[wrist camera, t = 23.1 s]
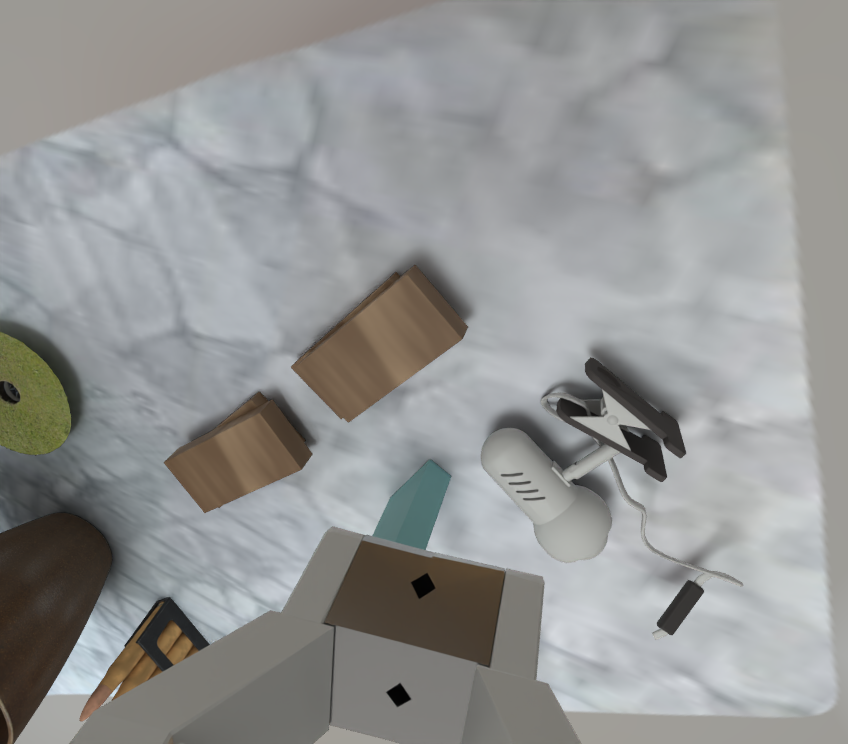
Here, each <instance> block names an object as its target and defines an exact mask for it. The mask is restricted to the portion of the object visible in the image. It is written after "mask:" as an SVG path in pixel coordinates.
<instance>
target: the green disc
mask: <svg viewBox="0 0 848 744" xmlns="http://www.w3.org/2000/svg"><path fill="white" fill-rule="evenodd" d="M68 404H69V403H68V402H67V397H66V394H65V392H64V389H63V387H62V385H61V383H60V380H59V379H58V378H57V377H56V375H55V374H54V373H53V371H52V369H50V368H49V366H48V365H47V363H46V362H45V361H44V360H43V359H41V358H40V357H39V356H38V354H37V353H35V352H33V351H32V350H31V349H30V348H29V347H27V346H26V345H25V344H24V342H21V341H20V340H17V339H15V338H13V337H11V336H9V335H7V334H4V333H2V332H0V445H1V446H4V447H6V448H9V449H10V450H13V451H16V452H19V453H24V454H29V455H37V454H38V455H40V454H47V453H50V452H52V451H54V450H55V449H57V448H59V447H60V446H61V445H62V444H63V443H64V442H65V440H66V439H67V437H68V434H69V432H70V428H71V414H70V408H69V405H68Z"/></svg>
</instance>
